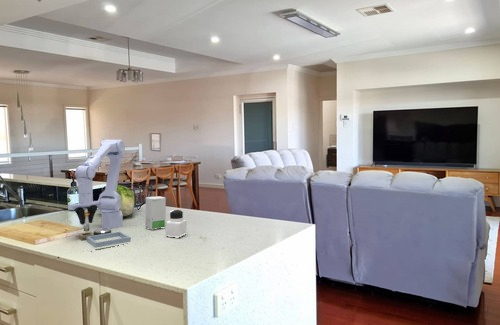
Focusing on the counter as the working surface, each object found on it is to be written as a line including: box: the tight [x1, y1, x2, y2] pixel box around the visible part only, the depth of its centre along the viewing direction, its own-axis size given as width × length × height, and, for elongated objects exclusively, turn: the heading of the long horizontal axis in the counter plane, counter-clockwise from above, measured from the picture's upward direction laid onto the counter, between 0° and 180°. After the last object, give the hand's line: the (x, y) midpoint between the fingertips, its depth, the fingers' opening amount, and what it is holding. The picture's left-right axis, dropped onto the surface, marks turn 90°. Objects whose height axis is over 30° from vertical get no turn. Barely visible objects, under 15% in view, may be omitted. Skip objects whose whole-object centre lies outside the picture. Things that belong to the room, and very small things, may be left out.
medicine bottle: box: [165, 209, 187, 236], centre depth 179 cm, size 7×7×12 cm
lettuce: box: [101, 184, 136, 218], centre depth 218 cm, size 18×23×19 cm
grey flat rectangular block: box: [75, 228, 112, 242], centre depth 173 cm, size 14×10×3 cm
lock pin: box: [82, 211, 90, 232], centre depth 170 cm, size 3×3×8 cm
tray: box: [86, 231, 132, 251], centre depth 165 cm, size 15×12×3 cm
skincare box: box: [144, 195, 167, 230], centre depth 192 cm, size 8×7×16 cm
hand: (86, 223), depth 170 cm, fingers closed on lock pin, 3 cm apart
